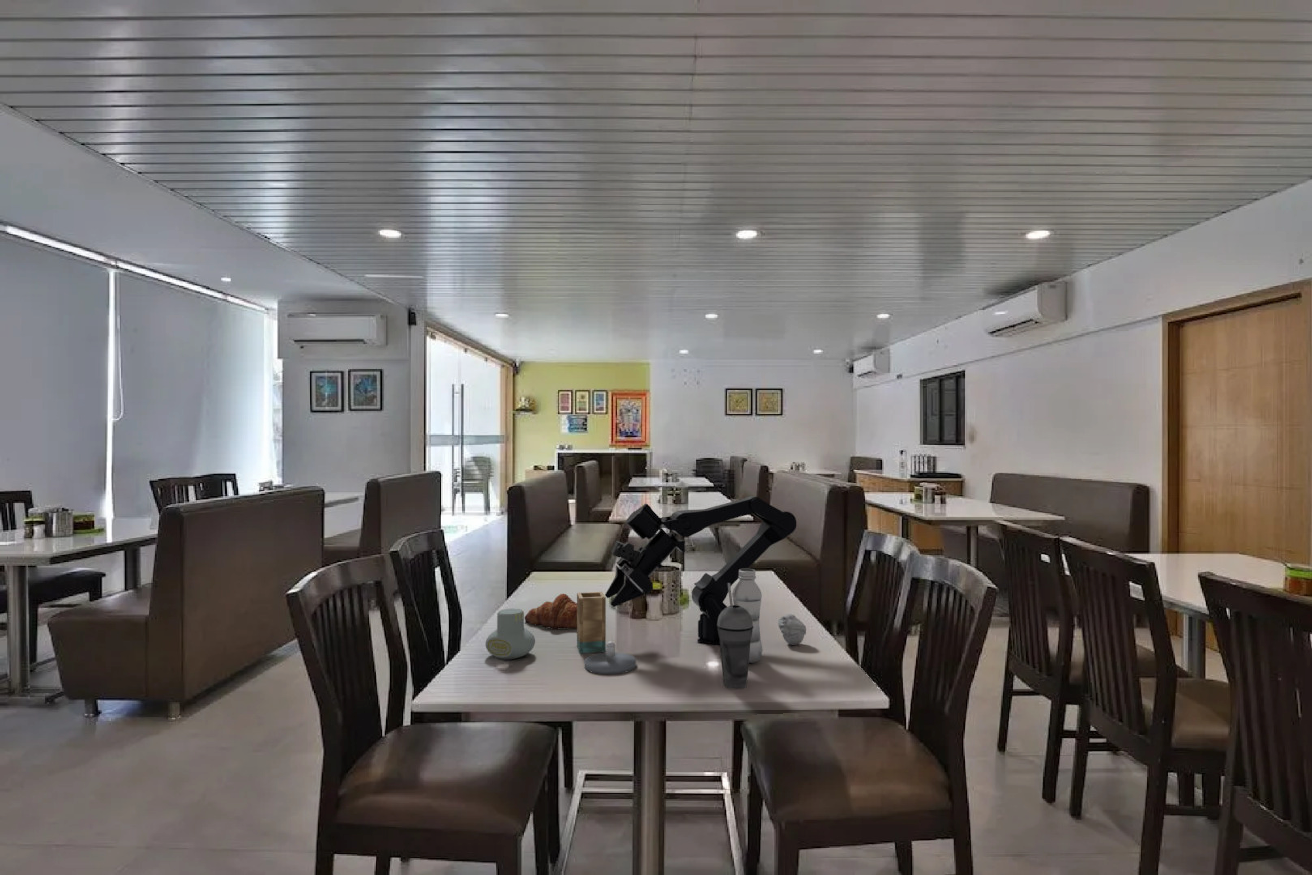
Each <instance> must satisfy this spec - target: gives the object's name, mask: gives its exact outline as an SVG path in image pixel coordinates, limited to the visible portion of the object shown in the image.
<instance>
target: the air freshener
mask: <svg viewBox="0 0 1312 875" xmlns="http://www.w3.org/2000/svg"><path fill="white" fill-rule="evenodd" d="M496 614H497V616H496V617H497V618H496V619H497V620H496V630H494V631H492V632H491V633H490V634H488V637H486V639H485V648H486V650H487V652H488V653H489V654H490V655H491V656H493V657H495V658H498V659H500V660H503V661H504V660H505V661H507V660H508V661H509V660H513V659H519V658H523V657H524V656H526V655H527V654H529V653H530V652H531V651H532V650H533V649H534V647H535V644H536V638H535V635H534V634H533V633H532V632H531V631H530V630H528V629H527V628H525V616H524V614H525V611H523V609H520V608H504V609H500V610H499V611H497V613H496Z"/></svg>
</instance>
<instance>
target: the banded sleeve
mask: <svg viewBox="0 0 1312 875" xmlns="http://www.w3.org/2000/svg"><path fill="white" fill-rule="evenodd" d="M606 599H607V597H606V596H605V594H604V592H603V591H588V592H587V591H586V592H585V591H584V592H577V593H576V603H577V628H576V647H577V650H578V652H579V653H578V654H589V653H590V654H591V653H606V644H607V641H606V639H607V638H606V637H607V636H606V634H607V633H606V630H607V629H606V627H607V625H606V623H607V622H606V619H607V617H606V614H607V613H606V611H607V609H606V605H607V603H606V601H607V600H606Z"/></svg>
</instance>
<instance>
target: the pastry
mask: <svg viewBox="0 0 1312 875" xmlns="http://www.w3.org/2000/svg"><path fill="white" fill-rule="evenodd" d="M524 623H527V624H530V625H532V624H534V625H533V626H538V625H542V626H541V627H544V628H546V627H550V628H549V629H551V628H552V630H559V629H558V628H566V629H565V630H568V629H567V628H573V629H577V602H575V601H574V600H572V598H570V597H569V596H568V595H567V594H566V593H560V594H558V596H556V597H555V599H554V600H553V601H552V602H551V601H545V602H543V604H541V605H540V606H538V607H535V608H531V609H529V611H528V612H527V614H526V615H525V616H524ZM535 624H536V625H535Z"/></svg>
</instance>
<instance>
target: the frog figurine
mask: <svg viewBox="0 0 1312 875" xmlns="http://www.w3.org/2000/svg"><path fill="white" fill-rule="evenodd" d="M777 624H778V628H779V630H780V632H781V634H782V637H783V639H784V641H785V642H786V643H787V644H788V645H791V646H797V645H799V644H801V643H802V642H803V641H804V638H805V635H807V628H806V627H807V626H806V625H805V623H803V622H802V621H801V619H799V618H798V617H796V615H794V614H791V613H788V614H784V615H783V616H781V617H779V619H778V623H777Z"/></svg>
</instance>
